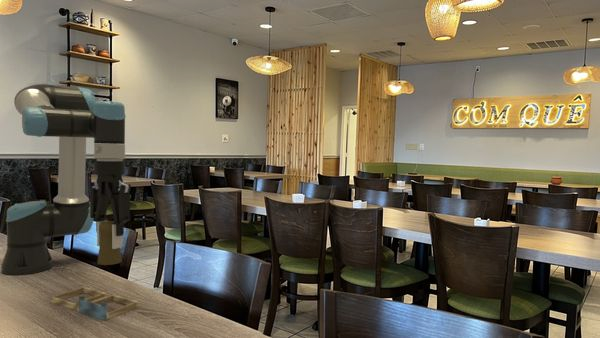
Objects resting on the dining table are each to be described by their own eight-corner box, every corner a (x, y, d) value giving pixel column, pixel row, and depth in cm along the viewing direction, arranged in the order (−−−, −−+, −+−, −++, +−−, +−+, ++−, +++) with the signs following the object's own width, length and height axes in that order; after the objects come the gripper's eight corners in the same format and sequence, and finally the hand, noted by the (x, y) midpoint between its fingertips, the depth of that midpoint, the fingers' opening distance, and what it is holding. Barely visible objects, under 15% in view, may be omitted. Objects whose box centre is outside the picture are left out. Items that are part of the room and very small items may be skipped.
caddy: (48, 303, 118) (48, 287, 118) (83, 291, 128) (83, 277, 128) (104, 320, 108) (104, 303, 108) (138, 306, 117) (138, 291, 117)
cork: (112, 265, 111) (112, 224, 110) (92, 264, 112) (92, 222, 111) (126, 259, 117) (126, 220, 116) (107, 258, 118) (106, 219, 117)
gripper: (74, 159, 114) (75, 244, 115) (121, 161, 105) (121, 254, 107) (99, 158, 120) (99, 239, 122) (145, 161, 112) (145, 247, 113)
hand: (109, 246), depth 114 cm, fingers closed on cork, 5 cm apart
